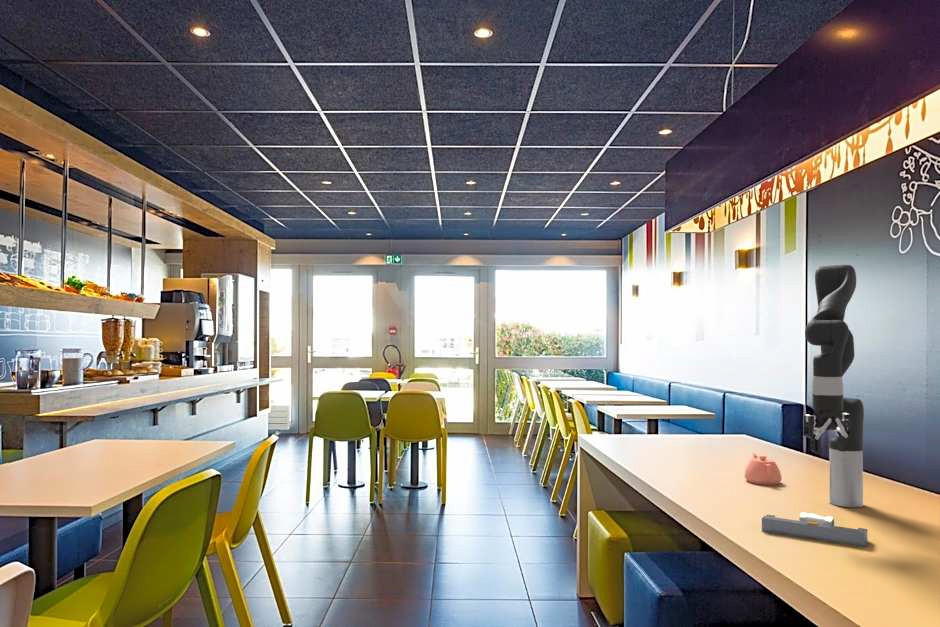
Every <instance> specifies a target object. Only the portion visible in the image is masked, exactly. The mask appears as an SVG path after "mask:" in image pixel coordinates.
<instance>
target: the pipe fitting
mask: <svg viewBox="0 0 940 627" xmlns="http://www.w3.org/2000/svg"><path fill="white" fill-rule="evenodd" d="M798 521H804V522H807V521H809V522H816V523H818V524H824V525H831V526H835V519H834V517H832V516H829V515H828V516H826V517H825V516H822V515H819V514H816V513H813V512H809V513H807V512H801V513H800V514H799V519H798Z"/></svg>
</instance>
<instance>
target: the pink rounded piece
mask: <svg viewBox="0 0 940 627" xmlns="http://www.w3.org/2000/svg"><path fill="white" fill-rule="evenodd" d="M752 456H753V458H751V459H750V460H749V462H748V463H747V466H746V467H745V469H744V478H745V479H746V481H747V482H748V483H750V484H755V485H760V486H776V485H779V484H780V483H781V482H782V474H781V470H780V468H779V467H778V464H777V463H776V461H775V460H773V459H769V458H767V455H759V456H758V455H757V454H756V453H755V452H752ZM758 457H759V458H758Z"/></svg>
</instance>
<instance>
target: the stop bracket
mask: <svg viewBox="0 0 940 627" xmlns="http://www.w3.org/2000/svg"><path fill="white" fill-rule="evenodd" d="M761 532H763V533H764V532H765V533H770V534H776V535H778V534H779V535H785V536H790V537H796V538H802V539H808V540H815V541H821V542H828V543H834V544H840V545H847V546H852V547H860V548H866V547H867V544H868V529H867V528H862V527H858V528H850V527H845V526H836V525H834V526H831V525H824V524H818V523H816V522H809V521H807V522H804V521H799V520H797V519H789V518H782V517H776V515H772V514H766V515H763V516H762V517H761Z"/></svg>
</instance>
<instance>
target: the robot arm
mask: <svg viewBox="0 0 940 627" xmlns="http://www.w3.org/2000/svg"><path fill="white" fill-rule="evenodd" d="M814 272H815V273H814V284H815V292H816V299H817V311H816V314H814V316H813V317H812V318H811V319H810V320H809V321H808V322H807V325H806V327H805V332H804V337H805V338H806V341H807V343H809V344H810V345H812V346H820V354H817V355H814V356H813V359H812V366H813V367H812V369H813V372H812V374H813V376H812V387H811V388H812V390H811V393H812V409H813V411H814V413H813V414H812V415H811V414H804V415H803V432H802V435H803V437H807V438H809V440H810V442H809V444H810V447H809V448H810V451H811V453H813V454H820V449H821V448H820V447H821V446H820V444H821V443H820V439H819V438H820V437H821V435H822V434H824V433H825V431H830V430H831V431H833V432H834V433H835V434H836V437H832V438H830V439H829V441H828V442H829V444H828V447H829V448H828V453H829V454H828V455H829V464H828V465H829V504H831V505H833V506H834V505H835V506H837V507H838V506H839V507H845V508H862V507H863V506H864V466H863V465H864V463H863V462H864V459H863V456H864V454H863V450H864V448H863V446H864V445H863V444H864V443H863V442H864V440H863V438H864V419H865V418H864V416H865V415H864V414H865V412H864V411H865V410H864V409H865V408H864V403H863V402H862V400H861V399H859V398H852V397H844V382H843V376H844V375H845V374H846V373H847V371H848V369H849V368H850V367H851V366H852V363H853V362H854V359H855V342H854V335H853V333H852V331H851V330H850V329H849V326H848V324H847V323H846V322H845V321H844V320H845V315H846V310H847V306H848V305H849V303H850V301H851V299H852V296H854V293H855V291H856V287H857V273H856V271H855V267H854V266H853V265H851V264H838V265H837V264H836V265H835V264H834V265H821V266H818V267H817V268H816V269H815V271H814Z"/></svg>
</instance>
